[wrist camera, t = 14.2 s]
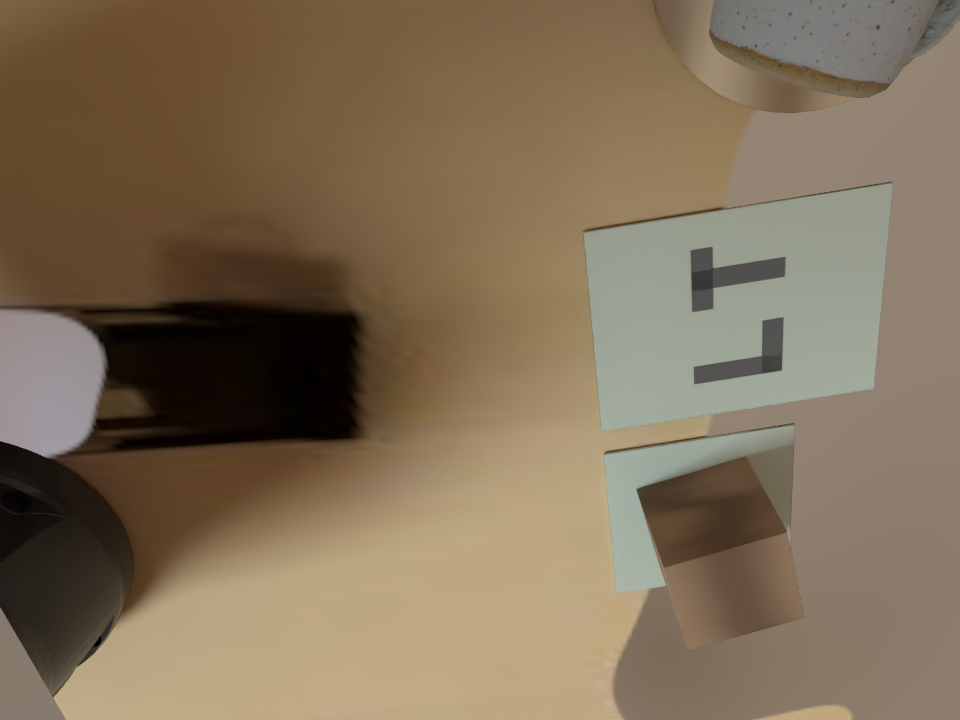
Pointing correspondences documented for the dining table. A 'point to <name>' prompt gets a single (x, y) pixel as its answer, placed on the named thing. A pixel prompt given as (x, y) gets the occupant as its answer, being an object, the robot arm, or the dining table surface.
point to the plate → (671, 460)
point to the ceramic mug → (830, 39)
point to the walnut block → (722, 553)
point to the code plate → (738, 306)
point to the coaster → (730, 63)
